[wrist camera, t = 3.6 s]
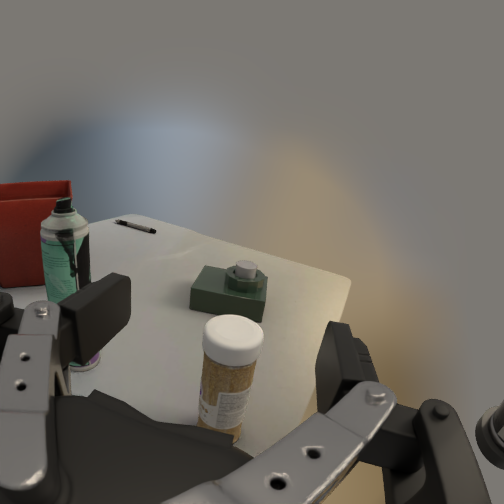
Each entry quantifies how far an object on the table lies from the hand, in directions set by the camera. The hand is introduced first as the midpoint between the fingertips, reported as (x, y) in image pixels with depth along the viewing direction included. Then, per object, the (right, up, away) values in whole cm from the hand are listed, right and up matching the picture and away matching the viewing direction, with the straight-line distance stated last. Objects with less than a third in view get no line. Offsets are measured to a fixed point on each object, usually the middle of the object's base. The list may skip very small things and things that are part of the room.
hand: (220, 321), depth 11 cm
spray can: (-21, -11, +20) cm, 31 cm away
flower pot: (-43, -2, +36) cm, 56 cm away
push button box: (-3, -6, +41) cm, 42 cm away
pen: (-34, +10, +73) cm, 81 cm away
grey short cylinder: (0, -1, +40) cm, 40 cm away
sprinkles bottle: (-2, -16, +15) cm, 22 cm away
